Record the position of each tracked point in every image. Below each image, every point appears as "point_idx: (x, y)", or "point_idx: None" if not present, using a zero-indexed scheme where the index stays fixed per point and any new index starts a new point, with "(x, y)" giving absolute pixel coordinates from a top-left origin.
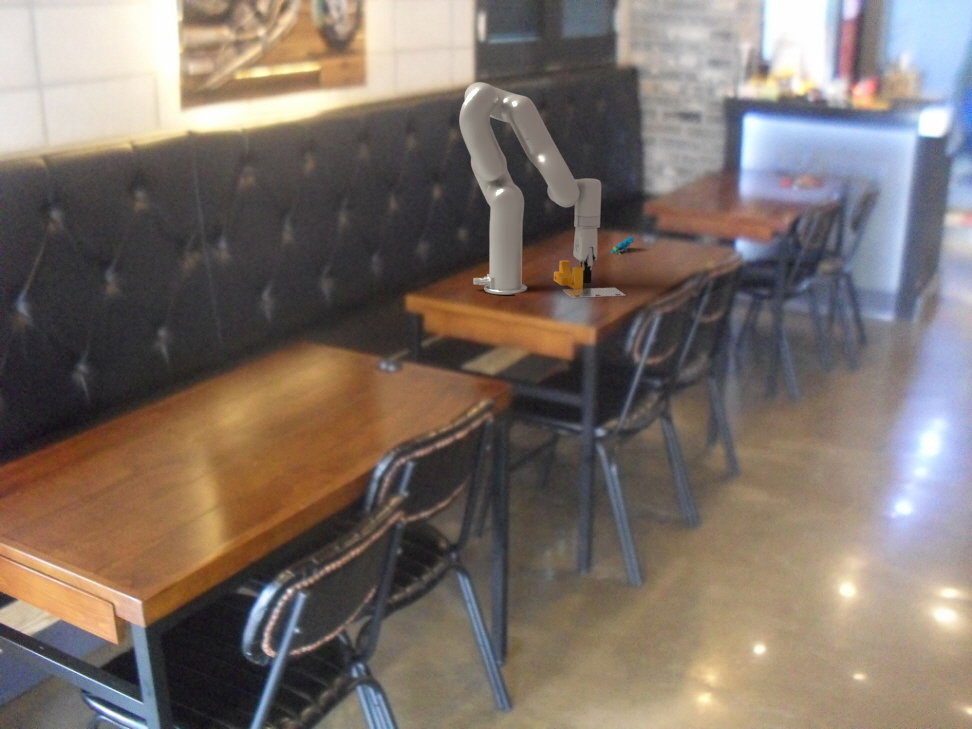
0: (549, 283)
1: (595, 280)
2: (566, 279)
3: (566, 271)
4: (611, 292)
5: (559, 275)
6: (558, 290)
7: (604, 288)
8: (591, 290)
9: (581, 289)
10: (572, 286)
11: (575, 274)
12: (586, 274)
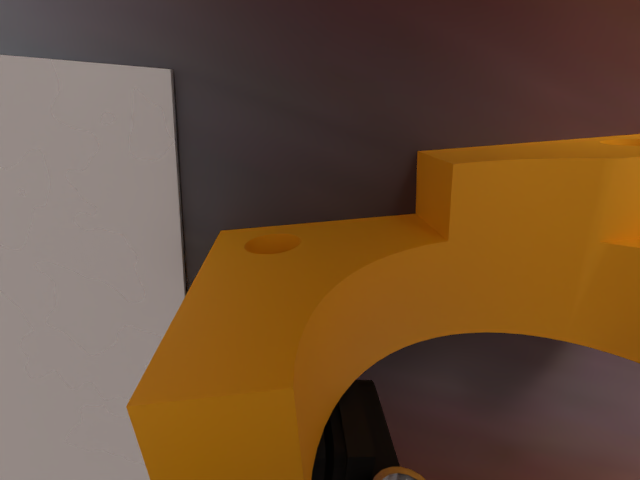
0: (581, 45)
1: (502, 467)
2: (440, 221)
3: (627, 294)
4: (3, 476)
5: (569, 162)
6: (176, 14)
7: None
8: (96, 355)
9: (153, 282)
10: (280, 230)
11: (176, 324)
12: None
